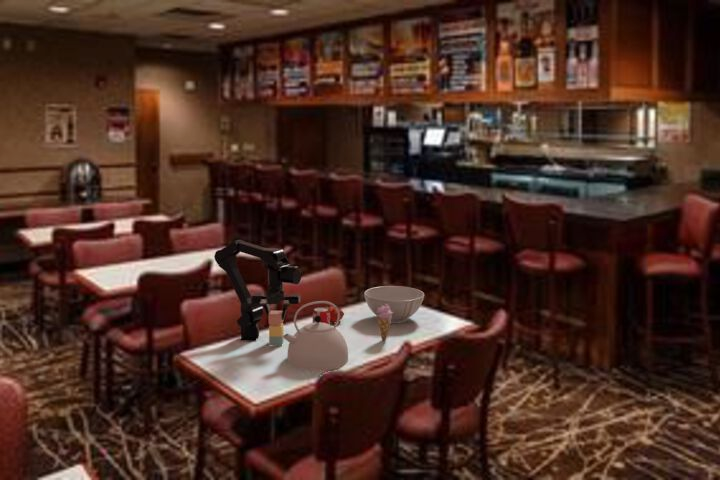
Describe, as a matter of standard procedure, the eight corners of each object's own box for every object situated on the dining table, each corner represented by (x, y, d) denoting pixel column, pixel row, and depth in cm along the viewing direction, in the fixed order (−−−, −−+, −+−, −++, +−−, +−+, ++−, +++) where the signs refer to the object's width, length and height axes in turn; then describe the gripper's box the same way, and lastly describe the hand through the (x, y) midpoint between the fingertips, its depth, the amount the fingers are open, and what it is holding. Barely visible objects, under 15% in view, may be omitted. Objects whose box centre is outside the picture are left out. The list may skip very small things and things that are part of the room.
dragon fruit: (318, 328, 296) (341, 327, 302) (327, 320, 290) (351, 320, 296) (314, 309, 299) (337, 310, 306) (323, 302, 293) (347, 302, 300)
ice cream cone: (395, 339, 277) (395, 303, 274) (389, 343, 271) (389, 307, 268) (380, 337, 279) (380, 301, 277) (374, 341, 274) (374, 305, 271)
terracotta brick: (268, 323, 266) (268, 313, 265) (271, 320, 271) (271, 310, 270) (281, 324, 266) (281, 314, 265) (283, 320, 271) (283, 310, 270)
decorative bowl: (426, 328, 291) (426, 301, 289) (363, 327, 292) (363, 300, 289) (421, 311, 318) (421, 286, 316) (364, 310, 318) (364, 285, 316)
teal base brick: (269, 346, 267) (269, 336, 267) (271, 342, 272) (270, 332, 272) (282, 346, 267) (281, 336, 267) (283, 342, 272) (283, 332, 272)
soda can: (327, 340, 274) (327, 312, 272) (310, 339, 275) (310, 311, 273) (331, 335, 281) (331, 307, 279) (315, 334, 282) (315, 306, 280)
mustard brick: (269, 336, 267) (269, 326, 266) (271, 332, 272) (270, 322, 271) (281, 336, 267) (281, 326, 266) (283, 332, 271) (283, 323, 271)
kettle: (293, 375, 237) (292, 313, 233) (273, 355, 257) (272, 297, 253) (358, 365, 247) (358, 305, 243) (334, 346, 268) (334, 291, 264)
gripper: (247, 285, 258) (248, 325, 261) (296, 286, 257) (296, 326, 260) (253, 278, 269) (254, 316, 271) (300, 279, 268) (300, 317, 271)
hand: (276, 319), depth 268 cm, fingers closed on terracotta brick, 5 cm apart
